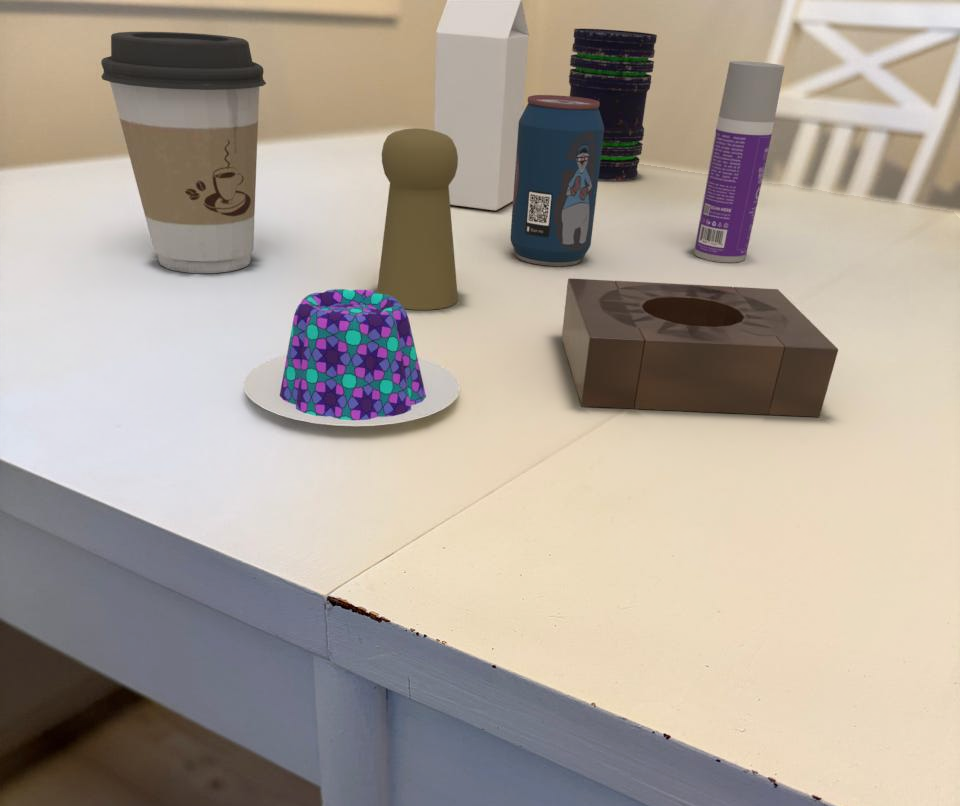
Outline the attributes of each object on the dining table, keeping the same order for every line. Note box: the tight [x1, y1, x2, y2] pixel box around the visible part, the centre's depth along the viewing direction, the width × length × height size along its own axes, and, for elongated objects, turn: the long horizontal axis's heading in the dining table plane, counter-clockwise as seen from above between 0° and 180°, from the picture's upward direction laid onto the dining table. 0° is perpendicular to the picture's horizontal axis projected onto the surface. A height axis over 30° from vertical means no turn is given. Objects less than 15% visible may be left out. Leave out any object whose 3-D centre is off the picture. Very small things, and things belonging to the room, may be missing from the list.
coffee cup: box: [100, 31, 267, 274], centre depth 70 cm, size 11×11×15 cm
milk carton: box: [433, 0, 530, 211], centre depth 93 cm, size 7×7×19 cm
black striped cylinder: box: [568, 28, 658, 182], centre depth 113 cm, size 10×10×15 cm
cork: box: [376, 127, 459, 311], centre depth 66 cm, size 6×6×11 cm
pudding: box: [243, 288, 461, 427], centre depth 52 cm, size 12×12×5 cm
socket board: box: [561, 278, 839, 418], centre depth 58 cm, size 14×12×4 cm
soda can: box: [509, 94, 604, 267], centre depth 78 cm, size 7×7×12 cm
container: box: [693, 60, 785, 264], centre depth 81 cm, size 5×5×15 cm
